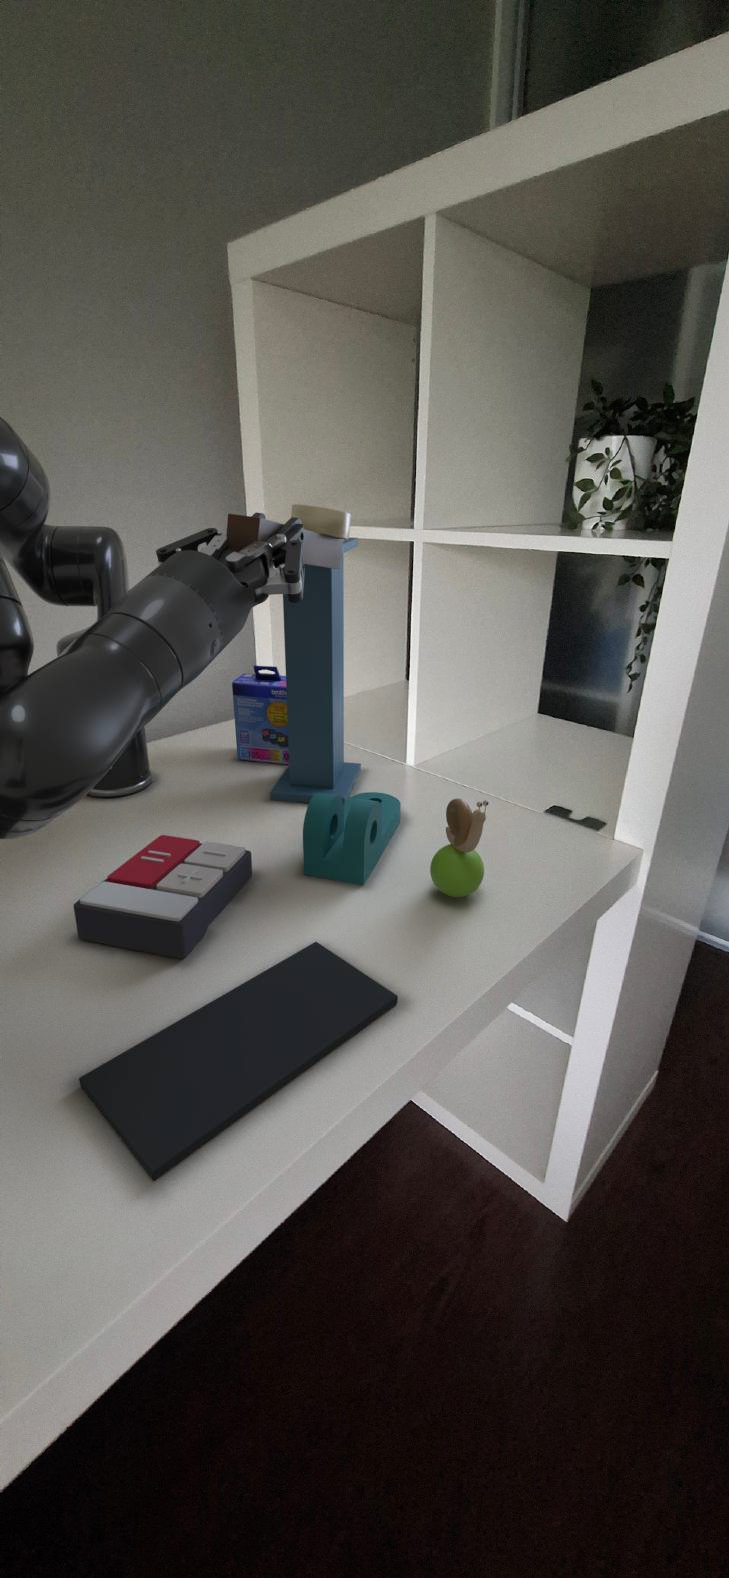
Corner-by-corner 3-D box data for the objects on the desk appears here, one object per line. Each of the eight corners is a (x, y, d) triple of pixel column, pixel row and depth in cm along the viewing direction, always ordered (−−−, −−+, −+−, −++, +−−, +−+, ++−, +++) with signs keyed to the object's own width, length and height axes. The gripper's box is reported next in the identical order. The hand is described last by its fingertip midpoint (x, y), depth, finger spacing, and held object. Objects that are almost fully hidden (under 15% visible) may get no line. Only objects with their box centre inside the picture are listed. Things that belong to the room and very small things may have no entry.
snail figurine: (450, 917, 67) (458, 807, 62) (419, 884, 72) (425, 780, 67) (497, 905, 69) (509, 797, 64) (464, 874, 74) (472, 772, 69)
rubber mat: (153, 1181, 42) (152, 1172, 41) (80, 1086, 48) (78, 1077, 48) (397, 1003, 56) (398, 995, 56) (316, 948, 62) (315, 941, 62)
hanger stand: (344, 806, 89) (344, 545, 76) (270, 800, 91) (257, 543, 77) (360, 770, 100) (363, 537, 87) (294, 765, 101) (286, 535, 88)
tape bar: (272, 558, 56) (279, 487, 54) (209, 549, 58) (214, 480, 56) (352, 571, 72) (360, 517, 71) (301, 563, 74) (307, 510, 73)
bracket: (363, 885, 72) (364, 818, 69) (303, 874, 74) (301, 808, 71) (405, 812, 88) (408, 755, 84) (355, 804, 89) (355, 748, 86)
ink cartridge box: (235, 761, 103) (228, 665, 97) (248, 748, 108) (242, 656, 102) (298, 766, 101) (295, 670, 95) (309, 753, 106) (306, 660, 100)
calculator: (252, 844, 72) (180, 918, 59) (254, 880, 74) (183, 960, 60) (159, 829, 75) (69, 897, 61) (162, 865, 76) (75, 938, 63)
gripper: (249, 592, 46) (349, 491, 57) (81, 563, 50) (204, 474, 61) (266, 683, 52) (354, 575, 63) (112, 650, 56) (221, 554, 67)
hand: (279, 525), depth 62 cm, fingers closed on tape bar, 3 cm apart
